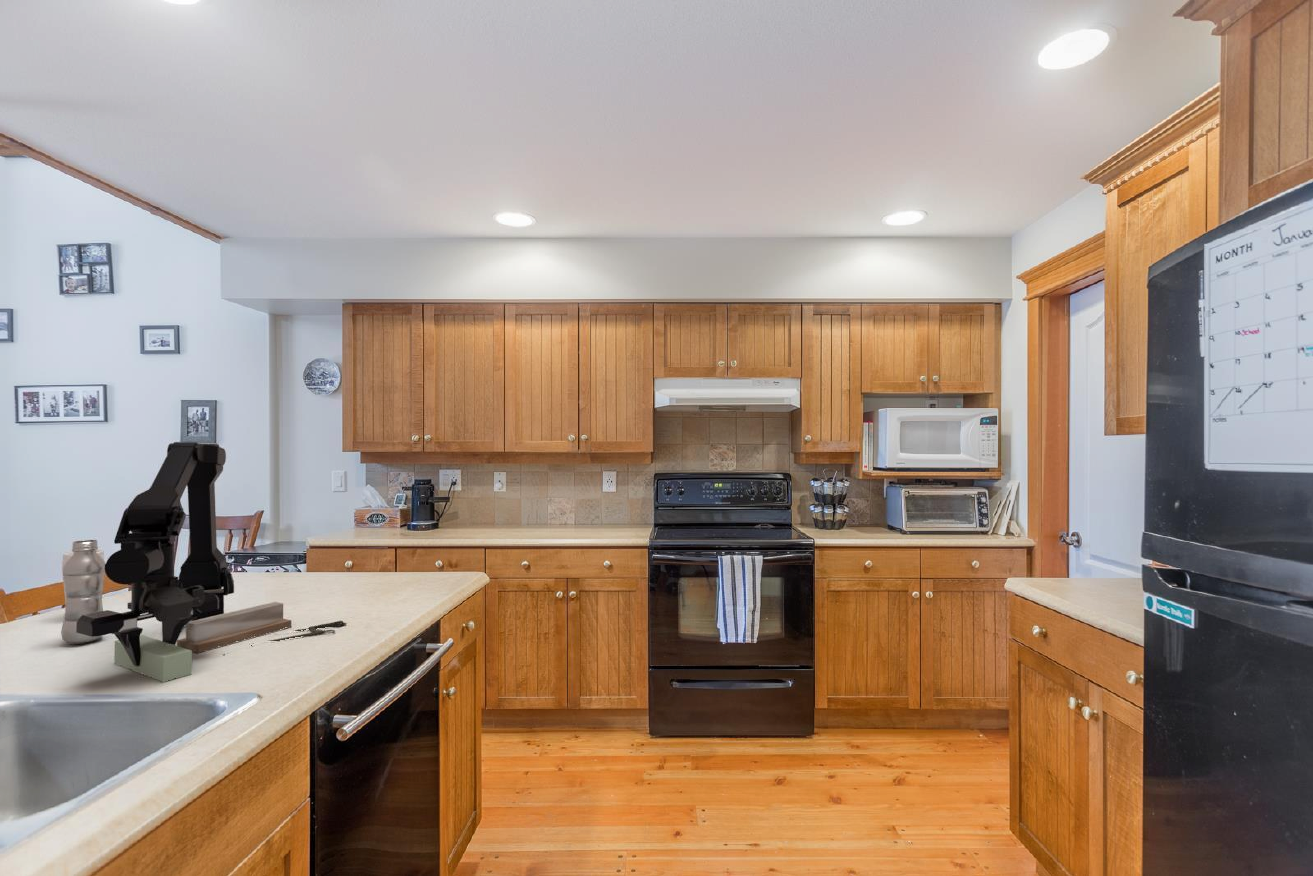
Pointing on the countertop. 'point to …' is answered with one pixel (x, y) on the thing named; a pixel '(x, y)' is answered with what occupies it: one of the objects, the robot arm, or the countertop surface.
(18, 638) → the countertop surface
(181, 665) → the bar
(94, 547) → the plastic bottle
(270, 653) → the countertop surface
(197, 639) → the ridge stand
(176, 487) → the robot arm
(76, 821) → the countertop surface
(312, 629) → the brown tree branch
